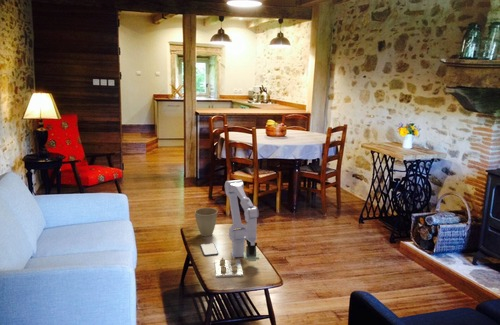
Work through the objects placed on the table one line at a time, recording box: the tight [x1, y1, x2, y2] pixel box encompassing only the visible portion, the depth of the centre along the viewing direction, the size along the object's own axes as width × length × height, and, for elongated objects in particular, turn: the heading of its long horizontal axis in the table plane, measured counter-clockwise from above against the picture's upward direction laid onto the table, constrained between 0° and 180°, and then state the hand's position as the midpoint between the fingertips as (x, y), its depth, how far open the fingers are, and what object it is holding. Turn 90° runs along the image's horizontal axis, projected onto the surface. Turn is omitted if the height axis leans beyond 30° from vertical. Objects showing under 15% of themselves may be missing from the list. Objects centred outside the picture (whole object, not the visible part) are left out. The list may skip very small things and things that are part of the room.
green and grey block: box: [243, 245, 260, 262], centre depth 228 cm, size 11×8×6 cm
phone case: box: [199, 242, 219, 257], centre depth 250 cm, size 9×2×16 cm
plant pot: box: [194, 207, 219, 237], centre depth 274 cm, size 15×15×16 cm
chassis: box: [214, 257, 244, 278], centre depth 226 cm, size 18×14×4 cm
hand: (251, 252), depth 228 cm, fingers closed on green and grey block, 4 cm apart
